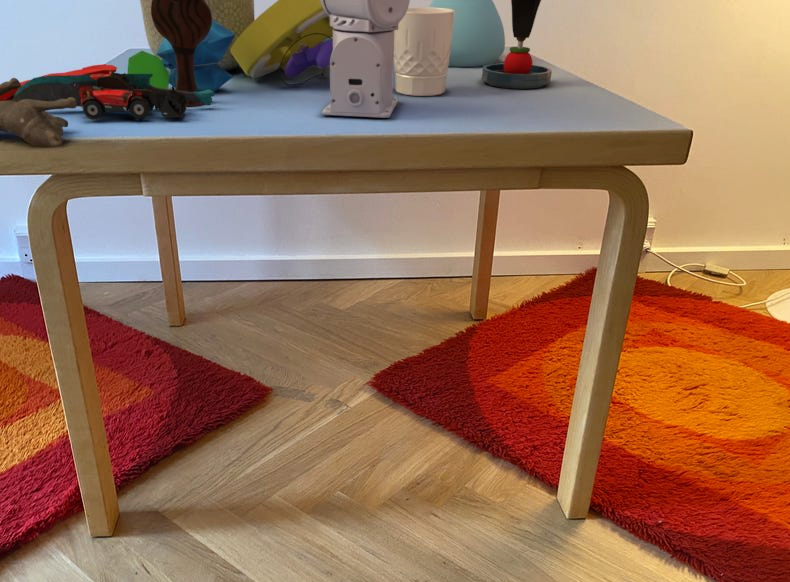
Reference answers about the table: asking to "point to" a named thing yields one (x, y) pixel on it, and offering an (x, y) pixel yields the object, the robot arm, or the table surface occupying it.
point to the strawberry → (518, 59)
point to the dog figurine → (33, 118)
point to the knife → (64, 88)
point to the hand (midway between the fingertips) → (520, 36)
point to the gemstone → (149, 68)
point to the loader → (126, 98)
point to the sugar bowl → (474, 32)
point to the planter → (227, 8)
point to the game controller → (309, 58)
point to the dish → (516, 77)
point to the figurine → (183, 35)
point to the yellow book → (280, 35)
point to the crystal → (202, 59)
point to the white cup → (423, 50)
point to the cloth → (84, 71)
